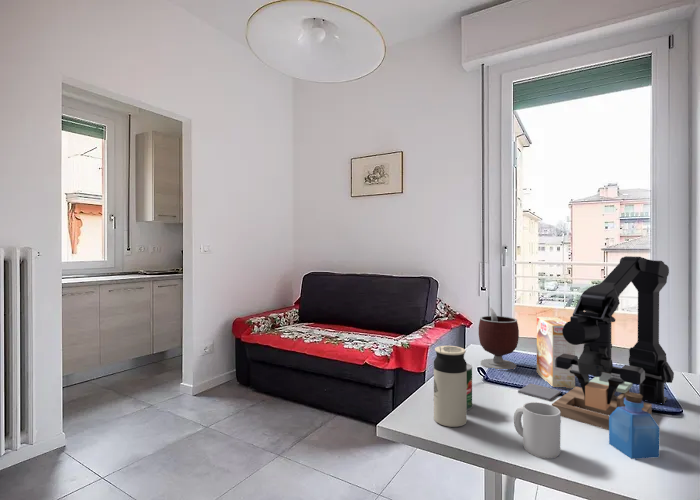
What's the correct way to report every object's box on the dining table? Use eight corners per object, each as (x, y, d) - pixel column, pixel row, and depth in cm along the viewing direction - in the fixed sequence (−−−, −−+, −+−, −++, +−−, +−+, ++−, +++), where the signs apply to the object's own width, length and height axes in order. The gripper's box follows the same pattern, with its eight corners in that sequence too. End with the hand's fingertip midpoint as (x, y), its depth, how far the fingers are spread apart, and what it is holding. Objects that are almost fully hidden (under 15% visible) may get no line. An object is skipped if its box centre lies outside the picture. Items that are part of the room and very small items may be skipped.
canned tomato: (452, 397, 114) (452, 359, 114) (477, 405, 109) (477, 365, 109) (437, 405, 109) (437, 365, 109) (462, 413, 103) (462, 371, 103)
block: (590, 400, 104) (590, 381, 104) (610, 405, 101) (610, 385, 101) (585, 405, 101) (585, 385, 101) (605, 410, 98) (605, 390, 98)
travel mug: (467, 416, 102) (467, 346, 101) (465, 430, 94) (465, 354, 94) (435, 412, 104) (435, 344, 104) (431, 425, 97) (431, 351, 96)
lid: (597, 378, 115) (597, 366, 115) (632, 385, 109) (632, 373, 109) (588, 385, 109) (588, 372, 109) (625, 393, 103) (625, 380, 103)
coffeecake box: (535, 372, 137) (535, 316, 137) (557, 373, 136) (557, 317, 136) (551, 387, 122) (551, 324, 122) (576, 389, 121) (576, 325, 121)
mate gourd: (525, 371, 139) (525, 314, 138) (485, 371, 139) (485, 314, 139) (508, 358, 154) (508, 307, 154) (472, 358, 154) (472, 307, 154)
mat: (530, 385, 124) (530, 383, 124) (561, 392, 118) (561, 390, 118) (518, 392, 118) (518, 390, 118) (549, 401, 112) (549, 398, 112)
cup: (548, 463, 80) (549, 419, 80) (504, 442, 88) (504, 402, 88) (566, 452, 84) (567, 410, 84) (523, 434, 92) (523, 395, 92)
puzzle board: (575, 394, 116) (575, 377, 116) (651, 413, 103) (651, 394, 103) (551, 413, 103) (551, 394, 103) (635, 437, 90) (635, 415, 90)
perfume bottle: (609, 443, 87) (609, 390, 87) (635, 442, 88) (635, 389, 88) (631, 458, 81) (631, 400, 81) (659, 457, 82) (659, 399, 82)
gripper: (547, 339, 102) (547, 399, 102) (635, 353, 88) (634, 422, 88) (562, 332, 110) (562, 388, 110) (645, 344, 96) (645, 408, 96)
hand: (597, 401), depth 101 cm, fingers closed on block, 4 cm apart
